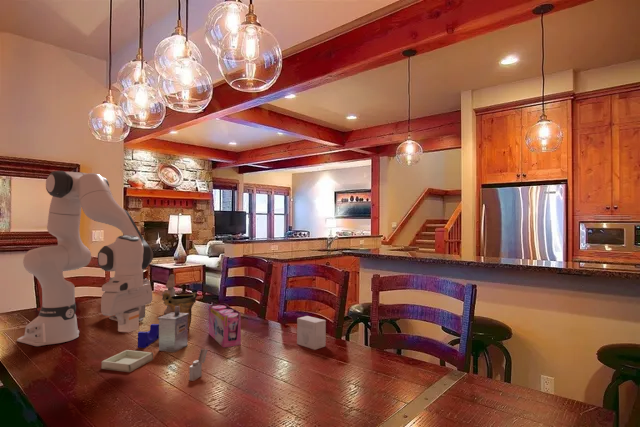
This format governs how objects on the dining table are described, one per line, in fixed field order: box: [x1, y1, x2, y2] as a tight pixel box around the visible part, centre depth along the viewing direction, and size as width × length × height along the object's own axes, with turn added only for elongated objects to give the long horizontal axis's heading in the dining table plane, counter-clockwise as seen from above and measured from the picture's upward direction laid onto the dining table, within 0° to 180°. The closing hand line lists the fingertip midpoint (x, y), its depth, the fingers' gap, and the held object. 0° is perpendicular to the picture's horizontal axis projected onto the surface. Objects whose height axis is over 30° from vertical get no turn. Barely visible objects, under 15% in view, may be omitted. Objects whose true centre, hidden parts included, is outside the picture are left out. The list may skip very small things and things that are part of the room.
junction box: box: [157, 306, 189, 353], centre depth 145 cm, size 8×9×16 cm
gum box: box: [208, 303, 242, 348], centre depth 155 cm, size 22×7×13 cm, turn 32°
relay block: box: [117, 308, 140, 333], centre depth 129 cm, size 5×5×7 cm
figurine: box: [161, 273, 176, 315], centre depth 200 cm, size 9×8×20 cm
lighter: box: [188, 348, 208, 382], centre depth 119 cm, size 7×2×8 cm, turn 162°
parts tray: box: [101, 349, 154, 373], centre depth 129 cm, size 11×11×2 cm
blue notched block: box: [137, 323, 159, 349], centre depth 151 cm, size 12×4×6 cm, turn 179°
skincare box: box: [296, 315, 327, 351], centre depth 149 cm, size 10×6×10 cm, turn 47°
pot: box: [161, 291, 198, 331], centre depth 168 cm, size 17×11×18 cm, turn 143°
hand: (128, 322), depth 129 cm, fingers closed on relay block, 5 cm apart
